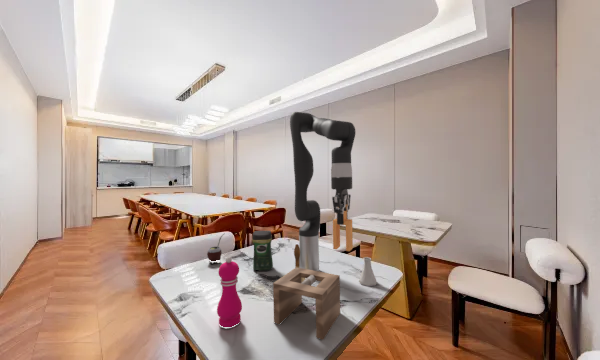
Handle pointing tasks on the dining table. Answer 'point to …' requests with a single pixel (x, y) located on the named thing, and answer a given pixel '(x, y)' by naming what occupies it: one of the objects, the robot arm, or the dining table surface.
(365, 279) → the flask
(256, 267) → the coffee jar
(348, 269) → the dining table surface
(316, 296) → the brown square frame
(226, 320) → the pepper mill
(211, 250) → the mate gourd
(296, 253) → the hand bell
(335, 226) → the stepped orange block
